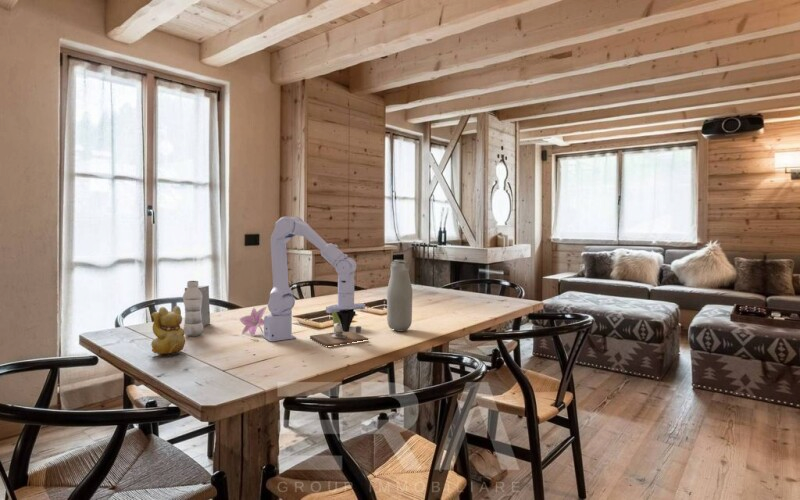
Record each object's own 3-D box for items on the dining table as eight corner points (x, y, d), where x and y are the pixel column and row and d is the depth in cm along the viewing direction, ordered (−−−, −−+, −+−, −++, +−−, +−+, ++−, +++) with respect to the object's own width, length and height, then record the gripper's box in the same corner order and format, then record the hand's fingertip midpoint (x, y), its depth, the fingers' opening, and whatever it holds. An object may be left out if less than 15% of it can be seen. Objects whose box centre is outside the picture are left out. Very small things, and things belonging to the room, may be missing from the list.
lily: (239, 333, 178) (231, 314, 173) (267, 318, 184) (260, 299, 179) (250, 349, 170) (241, 329, 165) (279, 333, 175) (272, 314, 170)
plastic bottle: (196, 338, 165) (195, 282, 164) (179, 337, 166) (178, 282, 165) (207, 334, 171) (206, 280, 170) (190, 333, 173) (190, 279, 171)
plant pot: (341, 331, 179) (341, 309, 179) (324, 328, 185) (324, 306, 184) (358, 327, 187) (358, 306, 186) (341, 324, 192) (341, 303, 192)
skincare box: (202, 328, 181) (201, 287, 180) (183, 327, 181) (183, 287, 180) (211, 323, 190) (210, 284, 189) (193, 322, 190) (193, 284, 189)
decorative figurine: (179, 348, 152) (178, 303, 151) (191, 353, 147) (191, 306, 146) (148, 355, 144) (147, 307, 143) (159, 360, 139) (159, 311, 138)
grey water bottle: (412, 328, 187) (413, 258, 185) (410, 334, 177) (411, 261, 175) (388, 327, 188) (389, 258, 186) (384, 333, 178) (385, 260, 176)
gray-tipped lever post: (359, 333, 162) (359, 326, 162) (332, 331, 165) (332, 324, 164) (362, 331, 166) (362, 324, 166) (336, 329, 168) (336, 322, 168)
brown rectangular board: (327, 347, 156) (327, 339, 156) (310, 339, 167) (310, 330, 167) (368, 341, 165) (368, 333, 165) (349, 333, 176) (349, 325, 176)
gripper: (332, 296, 155) (332, 336, 155) (369, 292, 163) (369, 331, 164) (323, 293, 160) (323, 332, 161) (359, 290, 169) (359, 327, 170)
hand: (345, 331), depth 163 cm, fingers closed
